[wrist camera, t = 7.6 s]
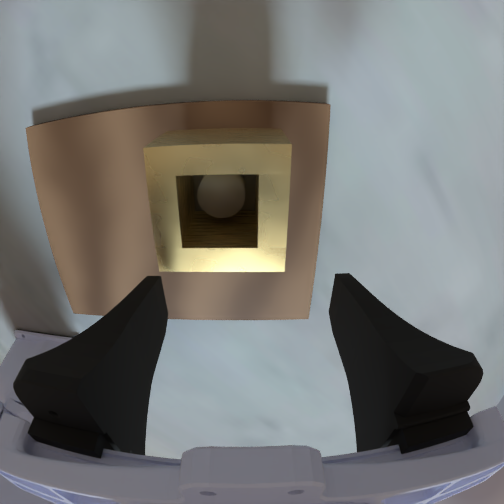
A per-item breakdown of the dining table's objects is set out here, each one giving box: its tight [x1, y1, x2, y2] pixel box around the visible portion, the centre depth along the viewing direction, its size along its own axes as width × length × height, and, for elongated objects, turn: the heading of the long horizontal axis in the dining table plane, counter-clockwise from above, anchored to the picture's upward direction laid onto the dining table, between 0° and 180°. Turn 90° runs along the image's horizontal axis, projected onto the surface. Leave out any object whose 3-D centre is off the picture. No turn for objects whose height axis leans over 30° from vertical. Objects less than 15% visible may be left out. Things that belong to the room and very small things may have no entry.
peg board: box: [26, 100, 330, 320], centre depth 19 cm, size 20×16×6 cm
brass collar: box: [143, 128, 292, 272], centre depth 15 cm, size 6×6×4 cm
